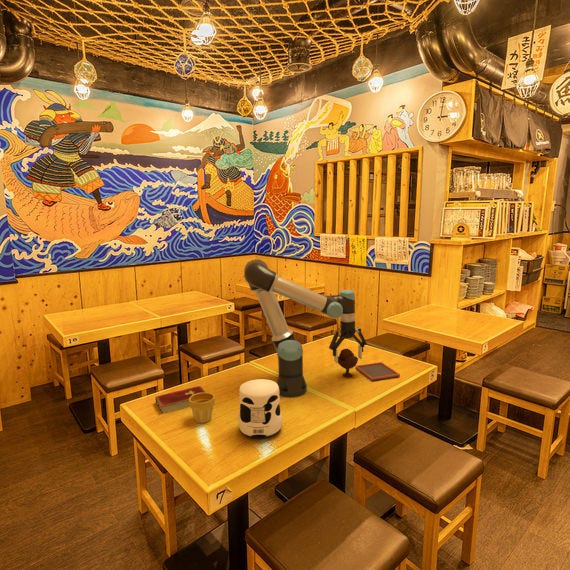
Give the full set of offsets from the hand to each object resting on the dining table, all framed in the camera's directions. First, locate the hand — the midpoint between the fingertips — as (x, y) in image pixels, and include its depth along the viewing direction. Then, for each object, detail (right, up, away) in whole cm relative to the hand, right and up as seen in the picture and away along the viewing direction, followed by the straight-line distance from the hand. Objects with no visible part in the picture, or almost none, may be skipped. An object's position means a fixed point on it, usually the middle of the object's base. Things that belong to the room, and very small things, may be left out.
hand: (348, 360), depth 205 cm
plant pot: (-67, -17, -39) cm, 80 cm away
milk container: (-42, -19, -49) cm, 67 cm away
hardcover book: (-80, -16, -24) cm, 85 cm away
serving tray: (+16, -8, +4) cm, 18 cm away
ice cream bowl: (0, -9, +1) cm, 9 cm away
